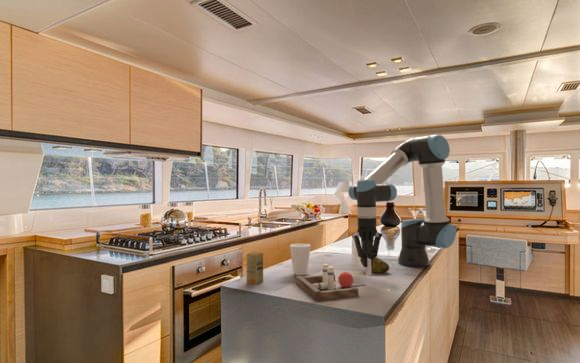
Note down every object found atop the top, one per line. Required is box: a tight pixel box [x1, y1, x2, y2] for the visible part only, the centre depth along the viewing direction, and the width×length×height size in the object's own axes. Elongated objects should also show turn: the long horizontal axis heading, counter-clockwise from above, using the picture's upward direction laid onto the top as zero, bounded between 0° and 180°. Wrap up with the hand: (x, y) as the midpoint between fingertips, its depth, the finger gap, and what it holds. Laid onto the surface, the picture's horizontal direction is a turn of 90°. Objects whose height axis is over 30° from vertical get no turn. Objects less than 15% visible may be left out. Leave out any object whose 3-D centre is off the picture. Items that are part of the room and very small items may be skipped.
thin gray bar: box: [349, 283, 366, 288], centre depth 137 cm, size 8×1×1 cm, turn 107°
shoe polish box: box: [246, 251, 264, 285], centre depth 143 cm, size 5×5×12 cm
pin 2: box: [327, 266, 335, 291], centre depth 131 cm, size 2×2×9 cm
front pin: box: [312, 281, 337, 291], centre depth 133 cm, size 2×2×9 cm
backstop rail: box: [295, 274, 359, 301], centre depth 133 cm, size 17×22×3 cm
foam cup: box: [289, 243, 311, 276], centre depth 158 cm, size 10×9×13 cm
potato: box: [359, 256, 390, 274], centre depth 160 cm, size 8×13×8 cm, turn 44°
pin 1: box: [322, 263, 330, 283], centre depth 136 cm, size 2×2×9 cm
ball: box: [337, 271, 354, 289], centre depth 135 cm, size 6×6×6 cm
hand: (368, 274), depth 139 cm, fingers closed
